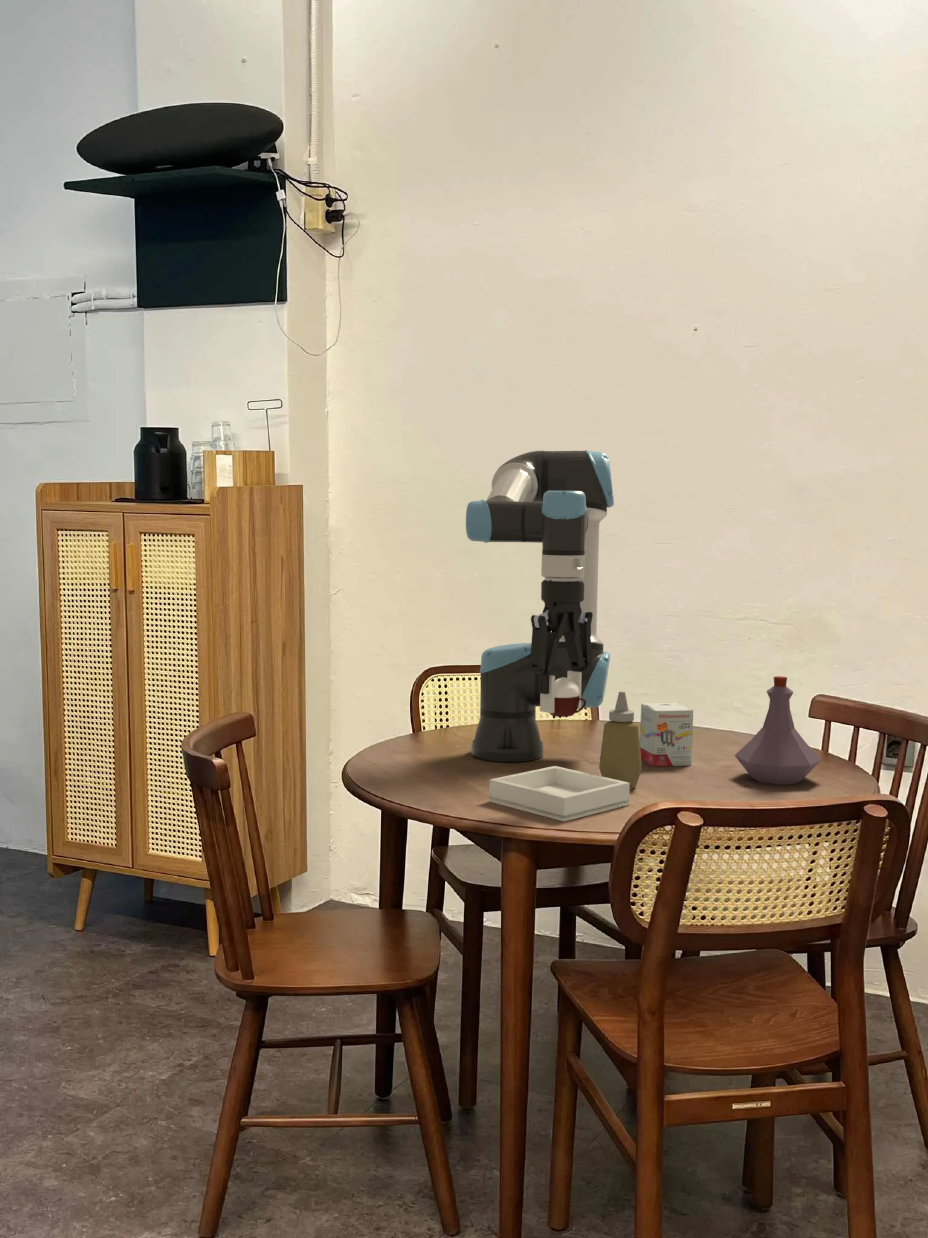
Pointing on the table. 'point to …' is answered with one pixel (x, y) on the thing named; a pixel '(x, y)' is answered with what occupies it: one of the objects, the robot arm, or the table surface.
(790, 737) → the flask
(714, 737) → the table surface
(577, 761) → the table surface
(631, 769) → the squeeze bottle
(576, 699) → the cocoa
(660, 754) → the ink box
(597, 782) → the tray
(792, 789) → the table surface
